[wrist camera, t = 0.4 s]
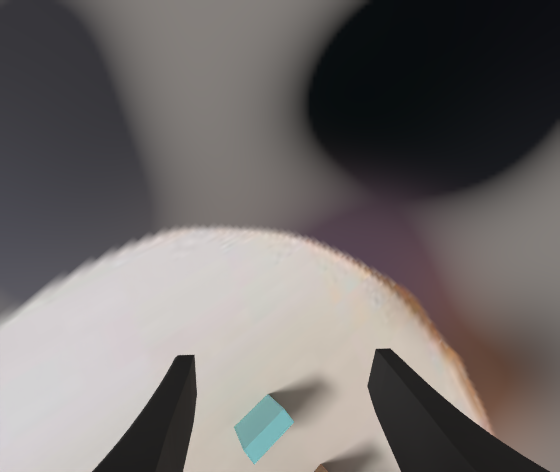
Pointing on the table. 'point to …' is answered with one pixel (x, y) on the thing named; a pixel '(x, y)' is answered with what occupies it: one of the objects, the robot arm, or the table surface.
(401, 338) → the table surface
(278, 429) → the teal domino
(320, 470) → the domino
